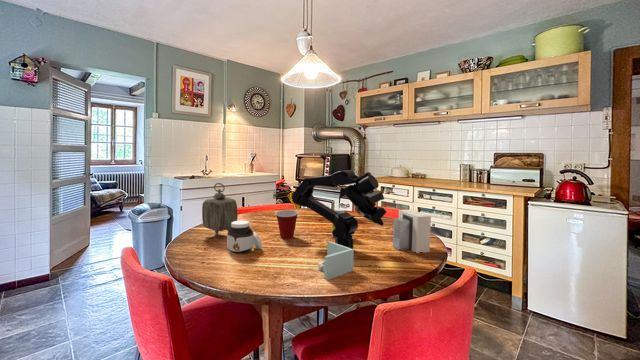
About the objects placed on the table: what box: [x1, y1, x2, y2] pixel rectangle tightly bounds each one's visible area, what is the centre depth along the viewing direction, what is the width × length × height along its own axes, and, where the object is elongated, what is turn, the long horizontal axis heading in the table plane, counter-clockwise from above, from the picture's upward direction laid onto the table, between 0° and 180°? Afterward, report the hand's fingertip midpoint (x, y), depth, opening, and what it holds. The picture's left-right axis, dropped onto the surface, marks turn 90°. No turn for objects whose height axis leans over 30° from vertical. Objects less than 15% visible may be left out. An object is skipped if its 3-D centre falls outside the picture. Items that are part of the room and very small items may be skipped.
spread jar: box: [226, 220, 263, 255], centre depth 119 cm, size 12×11×12 cm
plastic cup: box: [274, 209, 300, 240], centre depth 137 cm, size 11×11×12 cm
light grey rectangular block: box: [392, 217, 411, 251], centre depth 124 cm, size 10×5×12 cm, turn 106°
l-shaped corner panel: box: [317, 240, 355, 281], centre depth 100 cm, size 12×12×8 cm
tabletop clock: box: [201, 182, 239, 239], centre depth 137 cm, size 14×9×25 cm, turn 58°
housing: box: [398, 209, 432, 254], centre depth 125 cm, size 6×14×15 cm, turn 16°
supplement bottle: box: [331, 208, 345, 238], centre depth 140 cm, size 7×7×13 cm
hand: (382, 224), depth 120 cm, fingers closed
